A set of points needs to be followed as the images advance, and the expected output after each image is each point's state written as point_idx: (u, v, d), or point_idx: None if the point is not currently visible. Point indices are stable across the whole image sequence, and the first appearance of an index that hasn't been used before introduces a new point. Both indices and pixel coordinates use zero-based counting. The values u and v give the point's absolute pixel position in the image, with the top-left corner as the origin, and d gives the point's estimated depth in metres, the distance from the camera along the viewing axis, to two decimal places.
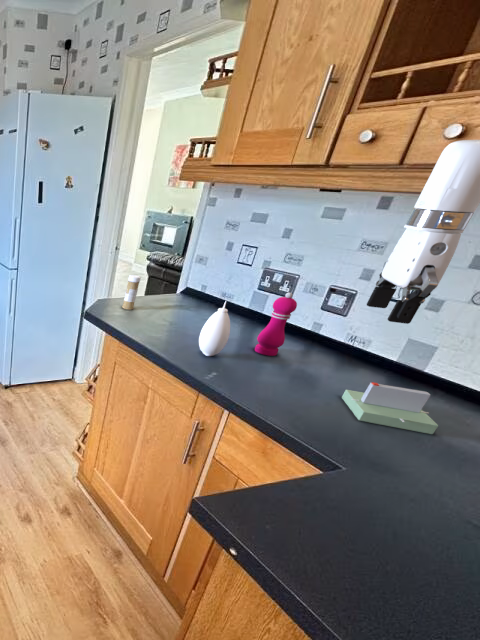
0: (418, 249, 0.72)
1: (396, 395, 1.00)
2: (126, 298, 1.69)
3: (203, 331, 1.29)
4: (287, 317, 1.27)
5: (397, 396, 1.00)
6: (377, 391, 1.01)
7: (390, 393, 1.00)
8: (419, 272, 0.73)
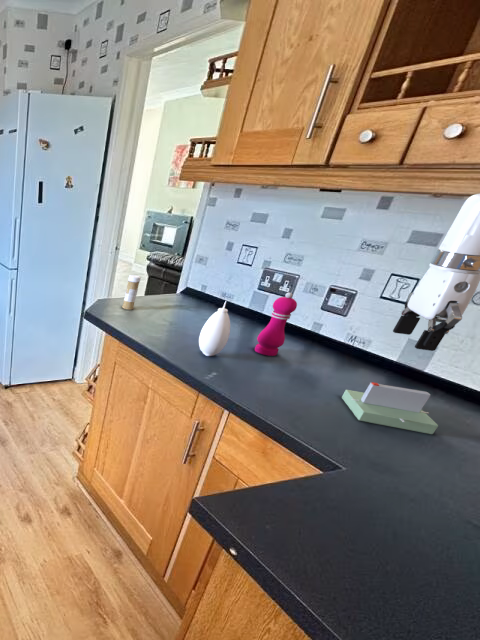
0: (443, 287, 0.82)
1: (396, 395, 1.00)
2: (126, 298, 1.69)
3: (203, 331, 1.29)
4: (287, 317, 1.27)
5: (397, 396, 1.00)
6: (377, 391, 1.01)
7: (390, 393, 1.00)
8: (444, 306, 0.82)
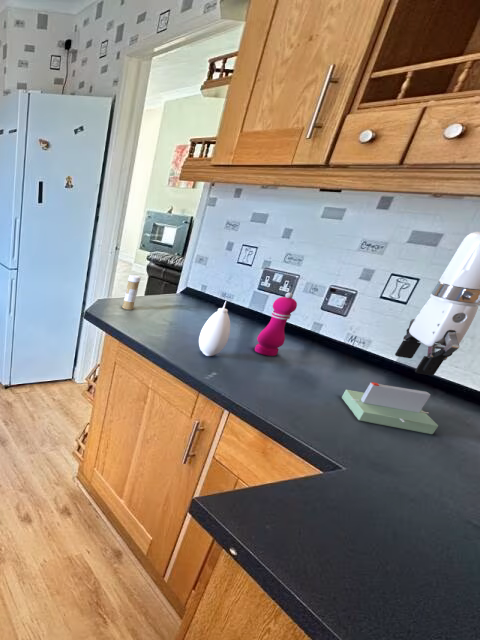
0: (443, 317, 0.88)
1: (396, 395, 1.00)
2: (126, 298, 1.69)
3: (203, 331, 1.29)
4: (287, 317, 1.27)
5: (397, 396, 1.00)
6: (377, 391, 1.01)
7: (390, 393, 1.00)
8: (443, 335, 0.88)
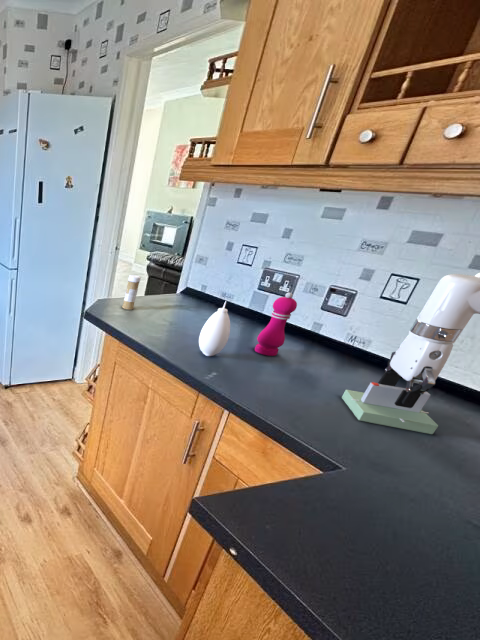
0: (420, 353, 0.92)
1: (396, 395, 1.00)
2: (126, 298, 1.69)
3: (203, 331, 1.29)
4: (287, 317, 1.27)
5: (397, 396, 1.00)
6: (377, 391, 1.01)
7: (390, 393, 1.00)
8: (420, 371, 0.93)
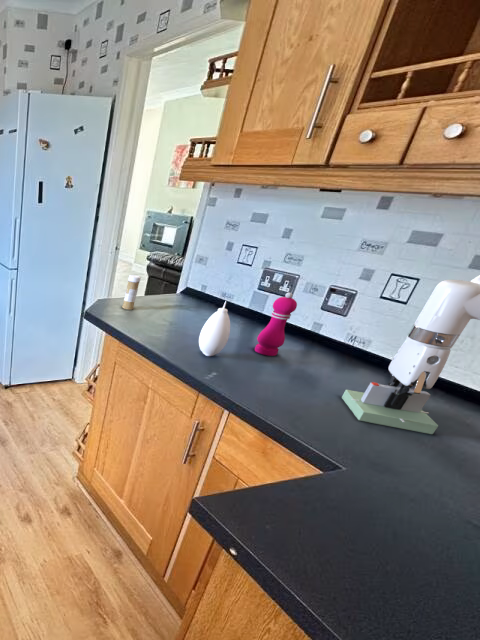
0: (418, 358, 0.93)
1: None
2: (126, 298, 1.69)
3: (203, 331, 1.29)
4: (287, 317, 1.27)
5: None
6: (377, 391, 1.01)
7: (390, 393, 1.00)
8: (418, 376, 0.93)
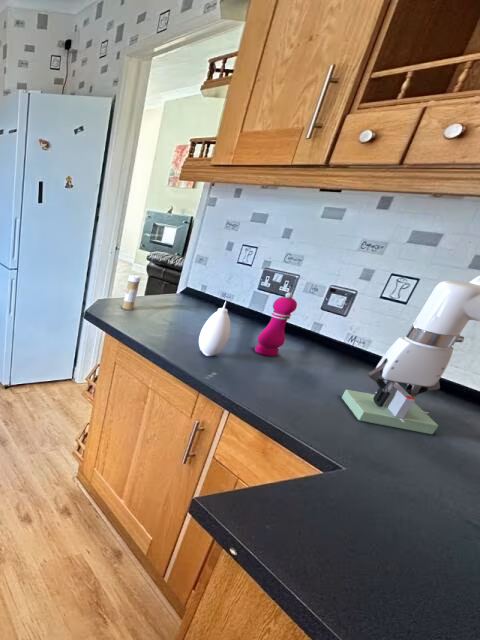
0: (446, 361, 0.92)
1: None
2: (126, 298, 1.69)
3: (203, 331, 1.29)
4: (287, 317, 1.27)
5: None
6: None
7: None
8: None
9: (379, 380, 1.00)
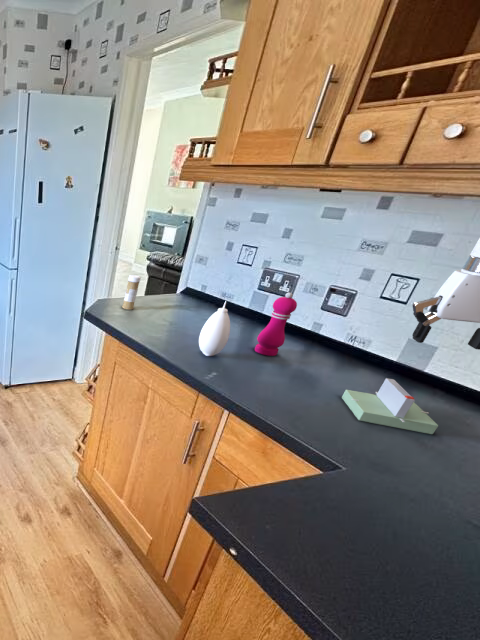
0: None
1: None
2: (126, 298, 1.69)
3: (203, 331, 1.29)
4: (287, 317, 1.27)
5: None
6: None
7: None
8: None
9: (420, 313, 0.92)
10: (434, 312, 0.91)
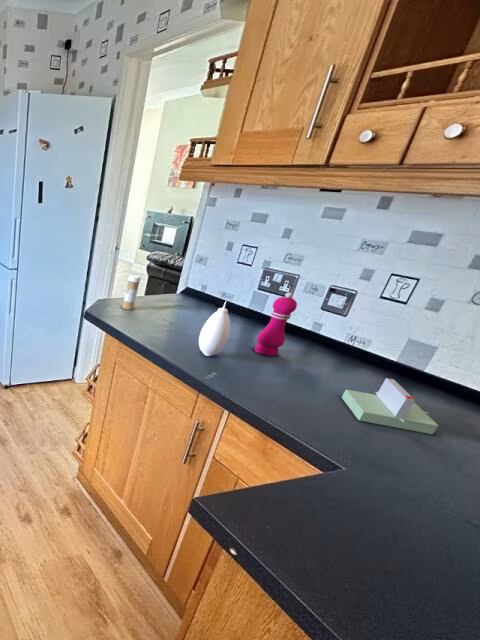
0: None
1: None
2: (126, 298, 1.69)
3: (203, 331, 1.29)
4: (287, 317, 1.27)
5: None
6: None
7: None
8: None
9: None
10: None
